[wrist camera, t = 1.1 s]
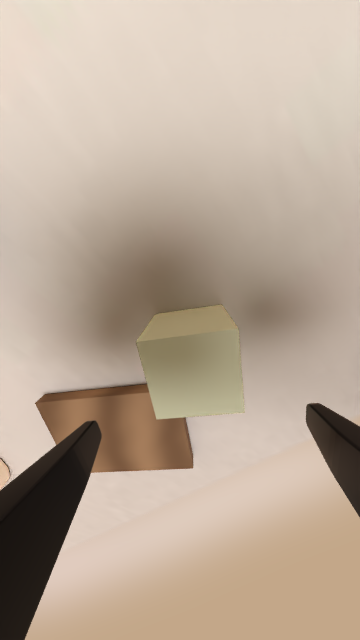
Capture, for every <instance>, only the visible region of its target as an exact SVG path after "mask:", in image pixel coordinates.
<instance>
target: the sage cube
mask: <svg viewBox="0 0 360 640" xmlns="http://www.w3.org/2000/svg"><path fill="white" fill-rule="evenodd" d="M136 344H137V348H138V352H139V356H140V359H141V363H142V367H143V371H144V374H145V378H146V382H147V386H148V389H149V393H150V397H151V401H152V404H153V408H154V412H155V416H156V419H169V418H182V417H195V416H208V415H221V414H234V413H245V411H244V397H243V383H242V370H241V356H240V342H239V329H238V327H237V326H236V324H235V323H234V321H233V320H232V318H231V317H230V316H229V314H228V313H227V311H226V310H225V308H224V307H223V305H222V304H221V305H214V306H207V307H200V308H193V309H186V310H179V311H173V312H166V313H159V314H155V315H154V317H153V318H152V320H151V321H150V322H149V324H148V325H147V327H146V328H145V330H144V331H143V332H142V334H141V335H140V337H139V338H138V340H137V341H136Z"/></svg>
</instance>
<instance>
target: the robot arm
mask: <svg viewBox="0 0 360 640" xmlns="http://www.w3.org/2000/svg"><path fill="white" fill-rule="evenodd" d="M306 423H307V426H308V428H309V430H310V432H311V434H312V436H313V438H314V439H315V441H316V443H317V445H318V447H319V449H320V451H321V453H322V455H323V457H324V459H325V461H326V463H327V465H328V466H329V468H330V470H331V472H332V473H333V475H334V477H335V478H336V480H337V482H338V483H339V485H340V487H341V488H342V490H343V491H344V493H345V495H346V496H347V498H348V499H349V501H350V502H351V504H352V506H353V507H354V509H355V510H356V512H357V514H358V515H359V517H360V426H358V425H356V424H354V423H353V422H351V421H349V420H348V419H346V418H344V417H342V416H341V415H339V414H337V413H336V412H334V411H332V410H330V409H329V408H327V407H325V406H323V405H322V404H319V403H311V404H307V407H306ZM101 439H102V433H101V430H100V428H99V425H98V423H97V421H96V420H90V421H86V422H85V423H83V424H82V425H81V426H80V427H78V428H77V429H76V430H75V431H73V432H72V433H71V434H70V435H68V436H67V437H66V438H65V439H64V440H62V441H61V442H60V443H59V444H57V445H56V446H55V447H54V448H52V449H51V450H50V451H49V452H47V453H46V454H45V455H44V456H42V457H41V458H40V459H39V460H38V461H36V462H35V463H34V464H33V465H31V466H30V467H29V468H28V469H26V470H25V471H24V472H23V473H21V474H20V475H19V476H18V477H16V478H15V479H14V480H13V481H12V482H10V483H9V484H8V485H7V486H5V487H4V488H3V489H2V490H0V640H25V637H26V634H27V632H28V629H29V627H30V624H31V622H32V619H33V617H34V615H35V612H36V610H37V607H38V605H39V602H40V600H41V597H42V595H43V592H44V589H45V587H46V585H47V582H48V580H49V577H50V575H51V572H52V570H53V567H54V565H55V562H56V560H57V557H58V555H59V552H60V550H61V547H62V545H63V542H64V540H65V537H66V535H67V532H68V530H69V527H70V525H71V523H72V520H73V518H74V515H75V513H76V510H77V508H78V505H79V503H80V500H81V498H82V495H83V493H84V490H85V488H86V485H87V482H88V480H89V477H90V474H91V471H92V468H93V465H94V461H95V458H96V455H97V452H98V449H99V445H100V442H101Z"/></svg>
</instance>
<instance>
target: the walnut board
mask: <svg viewBox="0 0 360 640" xmlns="http://www.w3.org/2000/svg"><path fill="white" fill-rule="evenodd" d="M35 404H36V406H37V408H38V410H39V412H40V414H41V416H42V418H43V420H44V422H45V424H46V425H47V427H48V429H49V431H50V433H51V435H52V437H53V439H54V441H55V443H56V445H57V444H59V443H60V442H61V441H62V440H64V439H65V438H66V437H67V436H68V435H70V434H71V433H72V432H73V431H75V430H76V429H77V428H78V427H80V426H81V425H82V424H83V423H85V422H86V421H90V420H96V421H97V423H98V425H99V428H100V430H101V433H102V439H101V442H100V445H99V449H98V452H97V455H96V458H95V461H94V465H93V468H92V471H91V473H94V472H117V471H141V470H164V469H188V468H193V453H192V448H191V443H190V439H189V434H188V429H187V424H186V419H185V417H182V418H169V419H156V416H155V412H154V408H153V404H152V401H151V397H150V393H149V389H148V386H147V384H143V385H133V386H123V387H113V388H103V389H93V390H83V391H73V392H63V393H53V394H45V395H44V396H42V397H41V398H40V399H39V400H38V401H37V402H36V403H35Z"/></svg>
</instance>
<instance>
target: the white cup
mask: <svg viewBox="0 0 360 640" xmlns="http://www.w3.org/2000/svg"><path fill="white" fill-rule="evenodd" d="M9 477H10V474H9V469H8V467H7V466H6V465H5V463H4V462H3V461H2V460H1V459H0V490H1V489H2V487H3V486H4V485H5V483H6V482H7V480H8V479H9Z"/></svg>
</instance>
